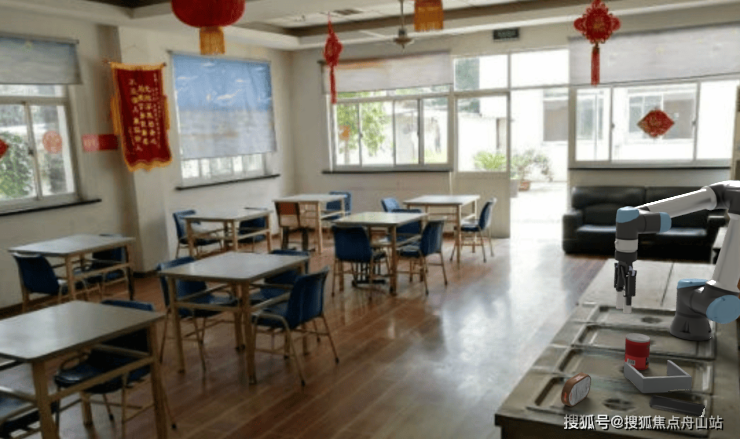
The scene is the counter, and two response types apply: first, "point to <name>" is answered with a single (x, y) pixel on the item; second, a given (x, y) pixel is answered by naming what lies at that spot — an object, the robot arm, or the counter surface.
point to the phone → (676, 405)
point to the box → (659, 379)
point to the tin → (576, 389)
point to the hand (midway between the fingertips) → (623, 310)
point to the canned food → (637, 350)
